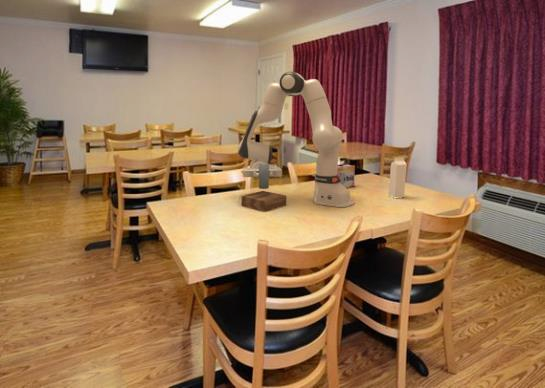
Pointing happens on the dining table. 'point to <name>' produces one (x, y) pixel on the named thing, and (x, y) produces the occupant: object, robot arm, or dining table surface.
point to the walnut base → (264, 200)
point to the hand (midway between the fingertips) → (264, 175)
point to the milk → (397, 177)
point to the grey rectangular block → (263, 176)
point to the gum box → (346, 174)
